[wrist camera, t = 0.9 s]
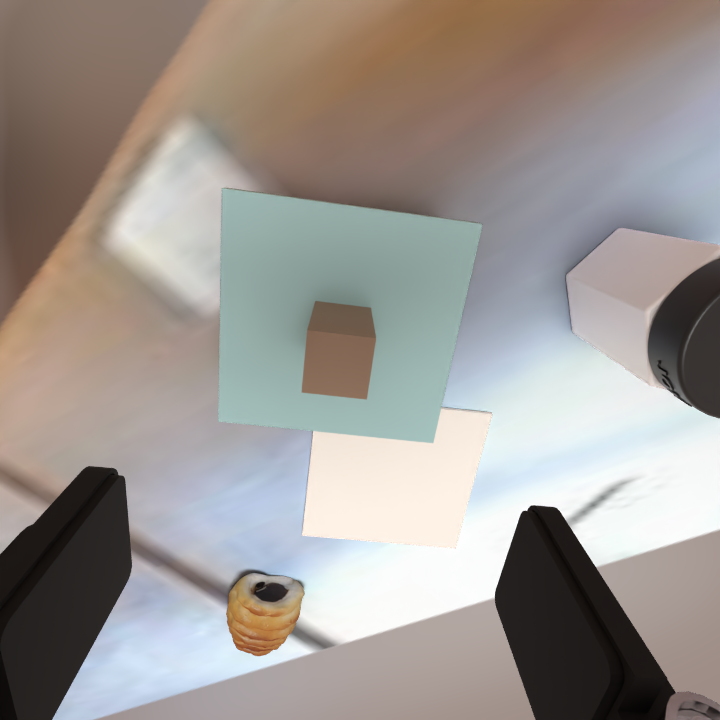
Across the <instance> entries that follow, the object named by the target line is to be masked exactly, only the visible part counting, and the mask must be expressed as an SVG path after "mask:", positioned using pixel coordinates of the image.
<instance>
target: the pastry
mask: <svg viewBox="0 0 720 720" xmlns="http://www.w3.org/2000/svg"><path fill="white" fill-rule="evenodd" d="M304 594H305V593H304V589H303V587H302V586H301V585H300V584H299V582H298V581H296V580H293V579H292V578H290V577H286V576H267V575H263V574H257V573H251V574H248V575H246V576H244V577H243V578H241V579H240V580H239V581H238V582H237V583H236V584H235V586H234V587H233V588H232V589H231V591H230V593H229V602H228V609H227V613H226V615H227V624H228V626H229V631H230V633H231V634H232V638H233V642H234V644H235V646H236V648H237V649H239V650H240V651H244V652H247V653H251V654H253V655H255V656H262V655H266V654H268V653H270V652H271V651H272V650H276V649H278V648H279V646H281V644H283V643H284V642H285V640H286V639H287V636H288V635H289V634H290V633H291V632H292V631H293V629H294V627H295V625H296V621H297V620H298V618H299V615H300V609H301V601H302V598H303V596H304Z"/></svg>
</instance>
